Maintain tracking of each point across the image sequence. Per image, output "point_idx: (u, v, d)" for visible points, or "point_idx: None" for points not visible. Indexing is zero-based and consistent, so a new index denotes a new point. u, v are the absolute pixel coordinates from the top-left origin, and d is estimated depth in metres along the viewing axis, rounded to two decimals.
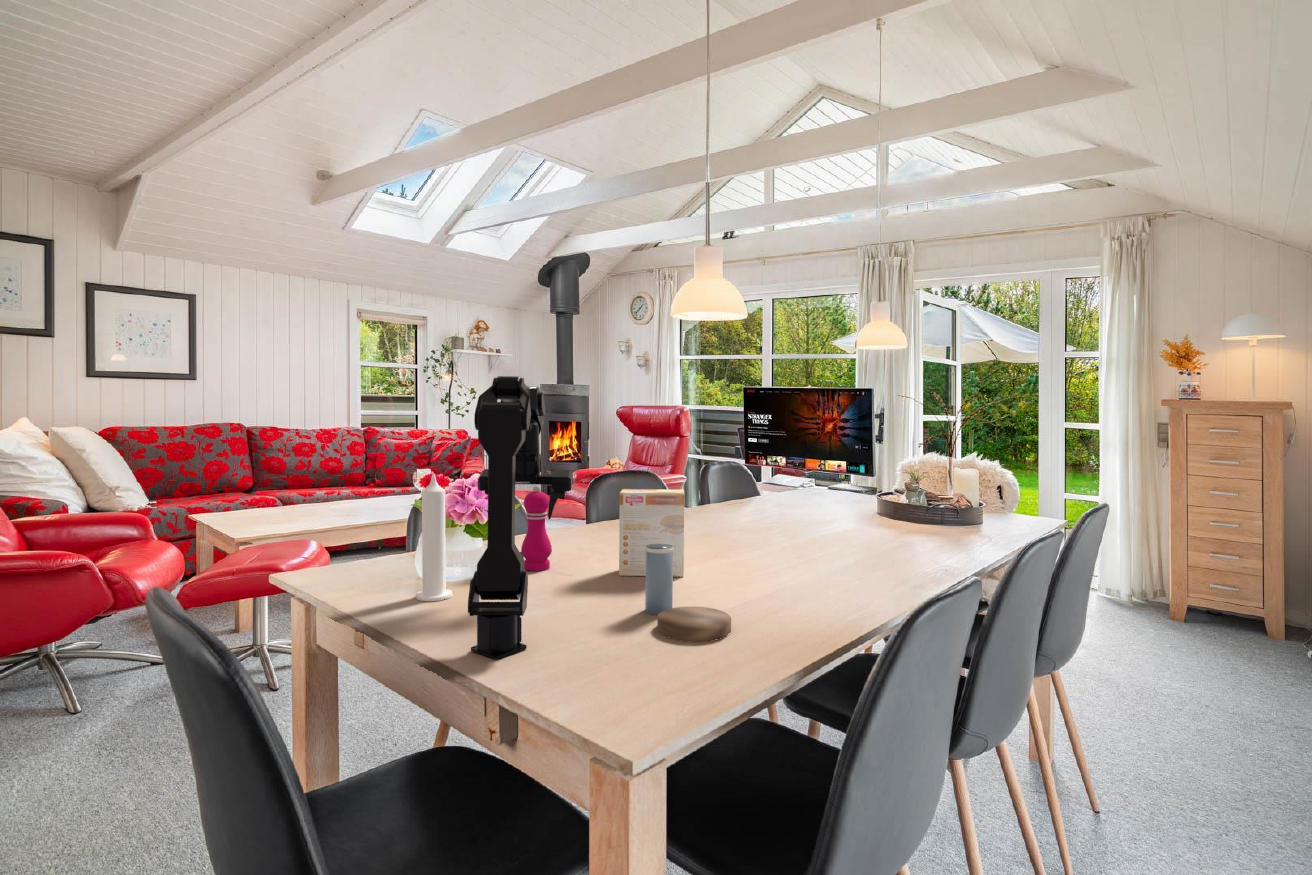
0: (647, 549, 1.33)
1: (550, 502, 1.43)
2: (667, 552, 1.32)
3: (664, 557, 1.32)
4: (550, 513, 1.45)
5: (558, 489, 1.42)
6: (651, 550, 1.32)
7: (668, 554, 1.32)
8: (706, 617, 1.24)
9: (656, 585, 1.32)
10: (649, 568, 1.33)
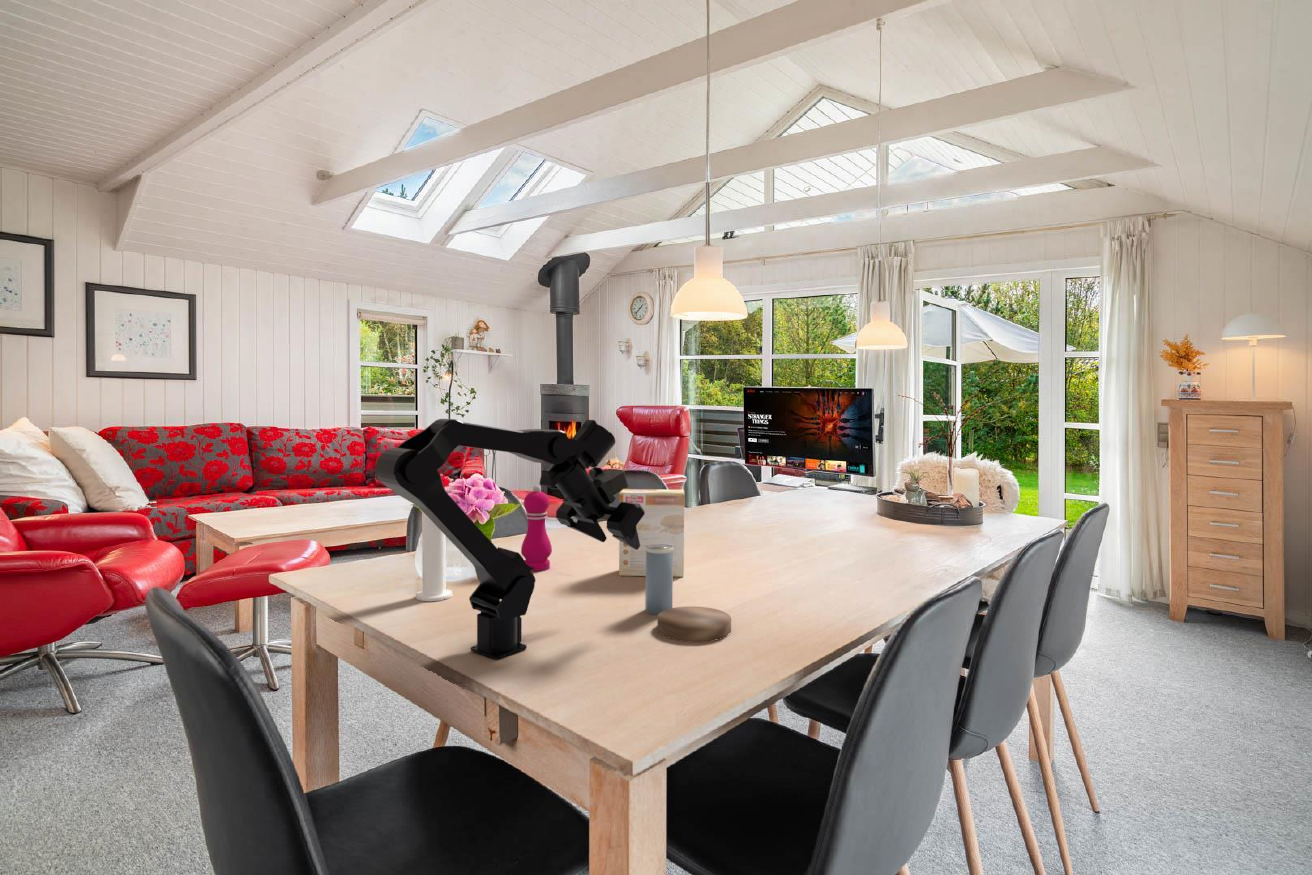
0: (647, 549, 1.33)
1: (621, 541, 1.24)
2: (667, 552, 1.32)
3: (664, 557, 1.32)
4: None
5: (616, 534, 1.20)
6: (651, 550, 1.32)
7: (668, 554, 1.32)
8: (706, 617, 1.24)
9: (656, 585, 1.32)
10: (649, 568, 1.33)
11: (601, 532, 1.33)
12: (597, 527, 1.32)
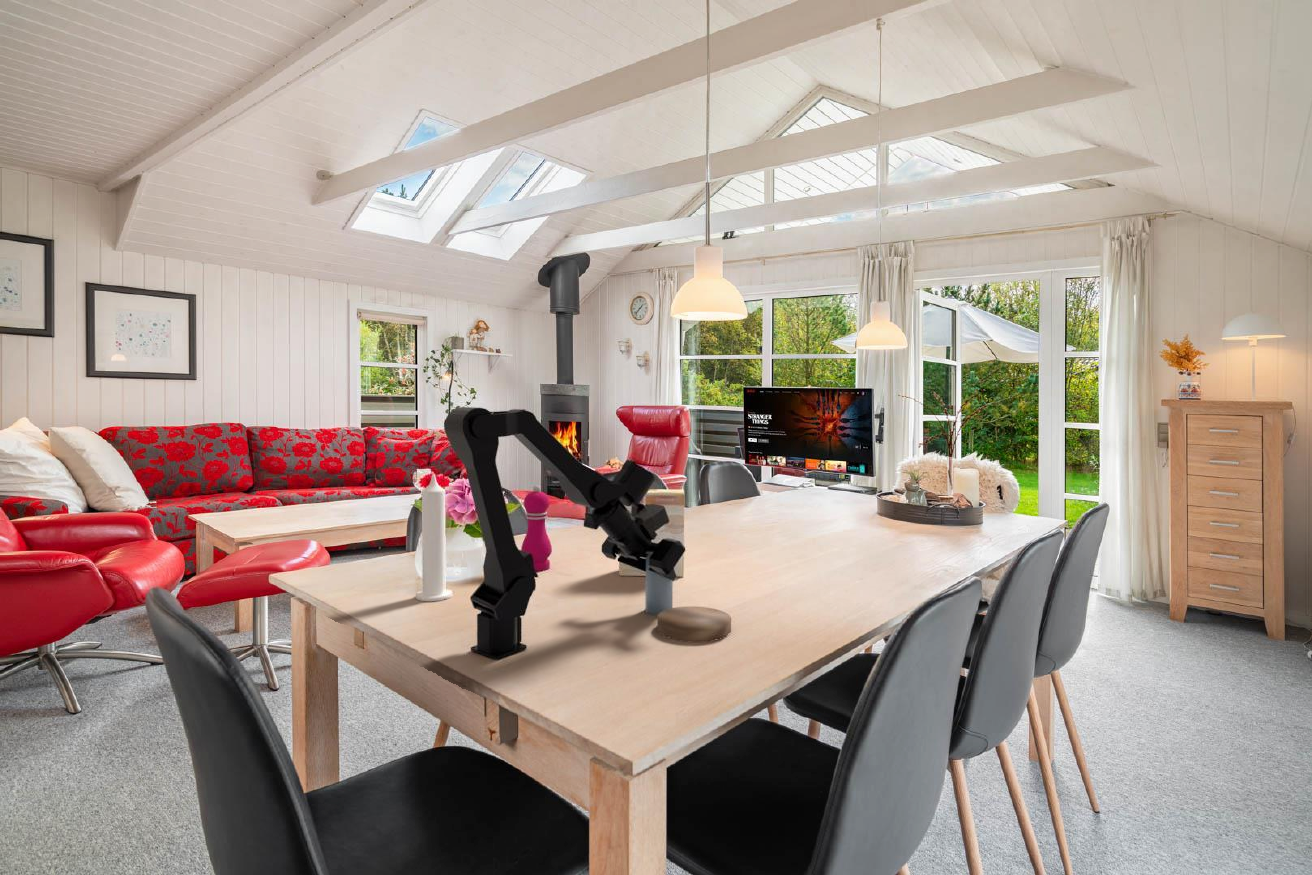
0: None
1: None
2: None
3: None
4: (668, 578, 1.32)
5: (658, 571, 1.25)
6: None
7: None
8: (706, 617, 1.24)
9: (656, 585, 1.32)
10: (649, 567, 1.33)
11: None
12: None
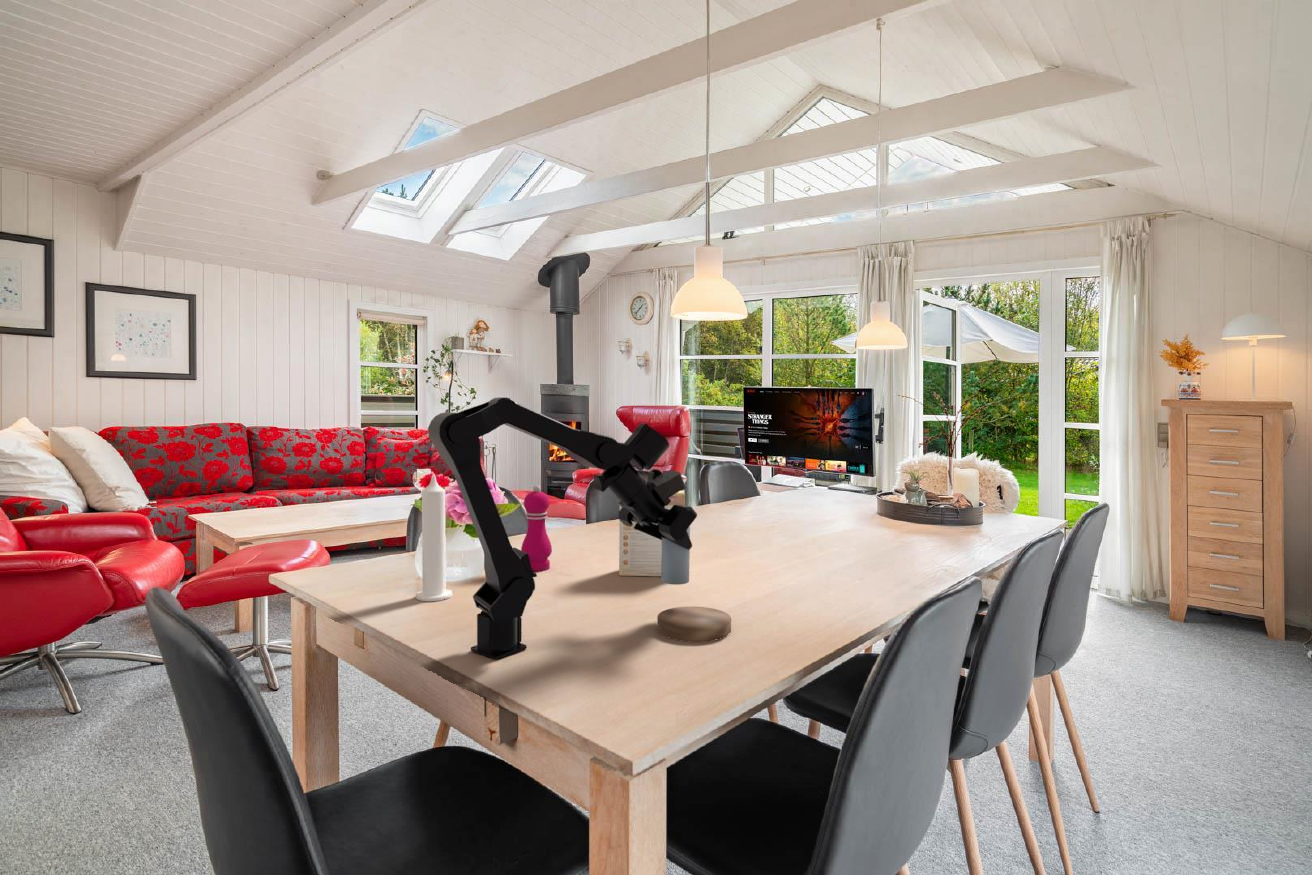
0: None
1: (670, 541, 1.26)
2: None
3: None
4: None
5: (668, 537, 1.21)
6: None
7: None
8: (706, 617, 1.24)
9: (670, 554, 1.28)
10: None
11: None
12: None
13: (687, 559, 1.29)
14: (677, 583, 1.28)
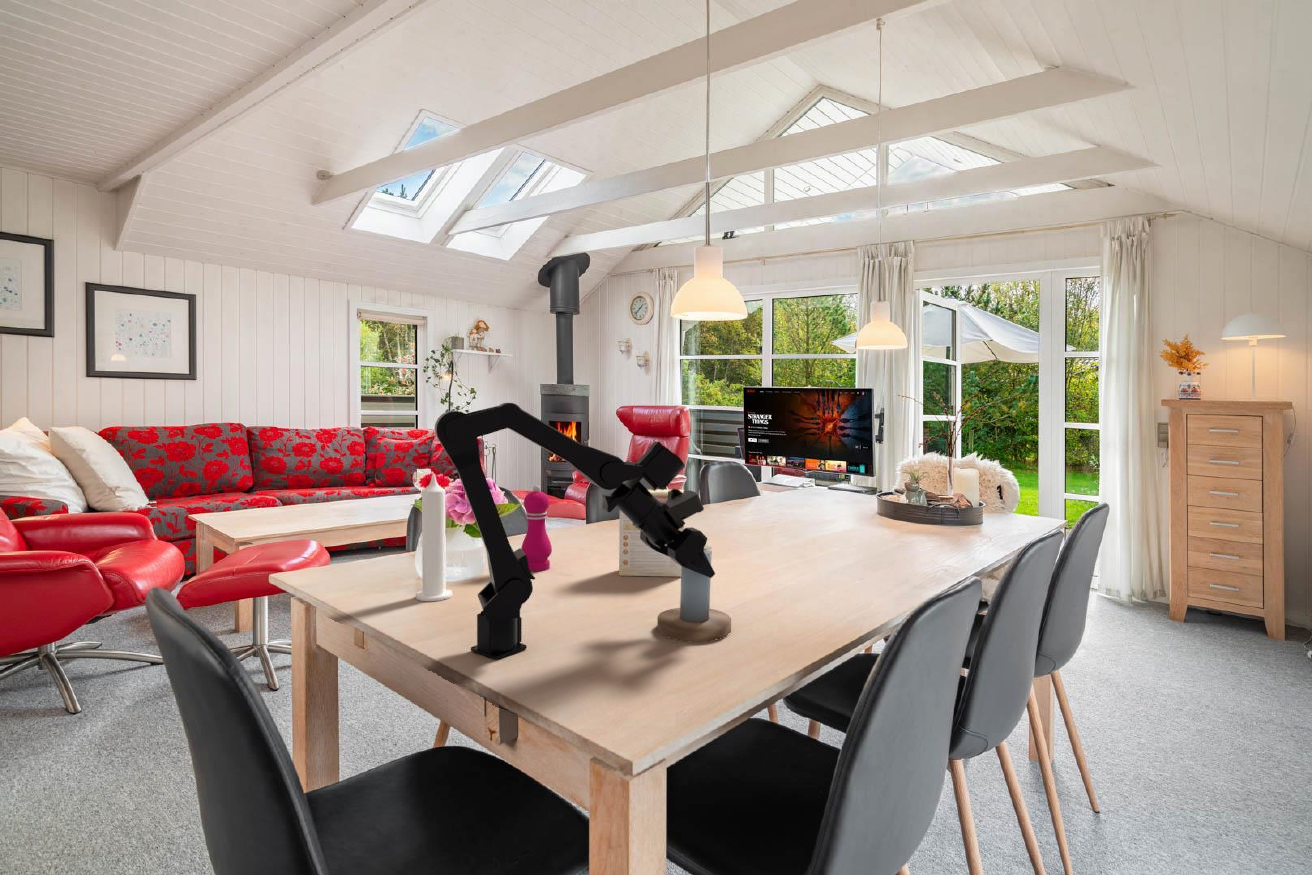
0: None
1: None
2: None
3: None
4: (703, 574, 1.19)
5: (676, 562, 1.15)
6: None
7: None
8: None
9: (687, 589, 1.22)
10: (682, 569, 1.23)
11: None
12: None
13: (706, 596, 1.22)
14: (694, 620, 1.22)
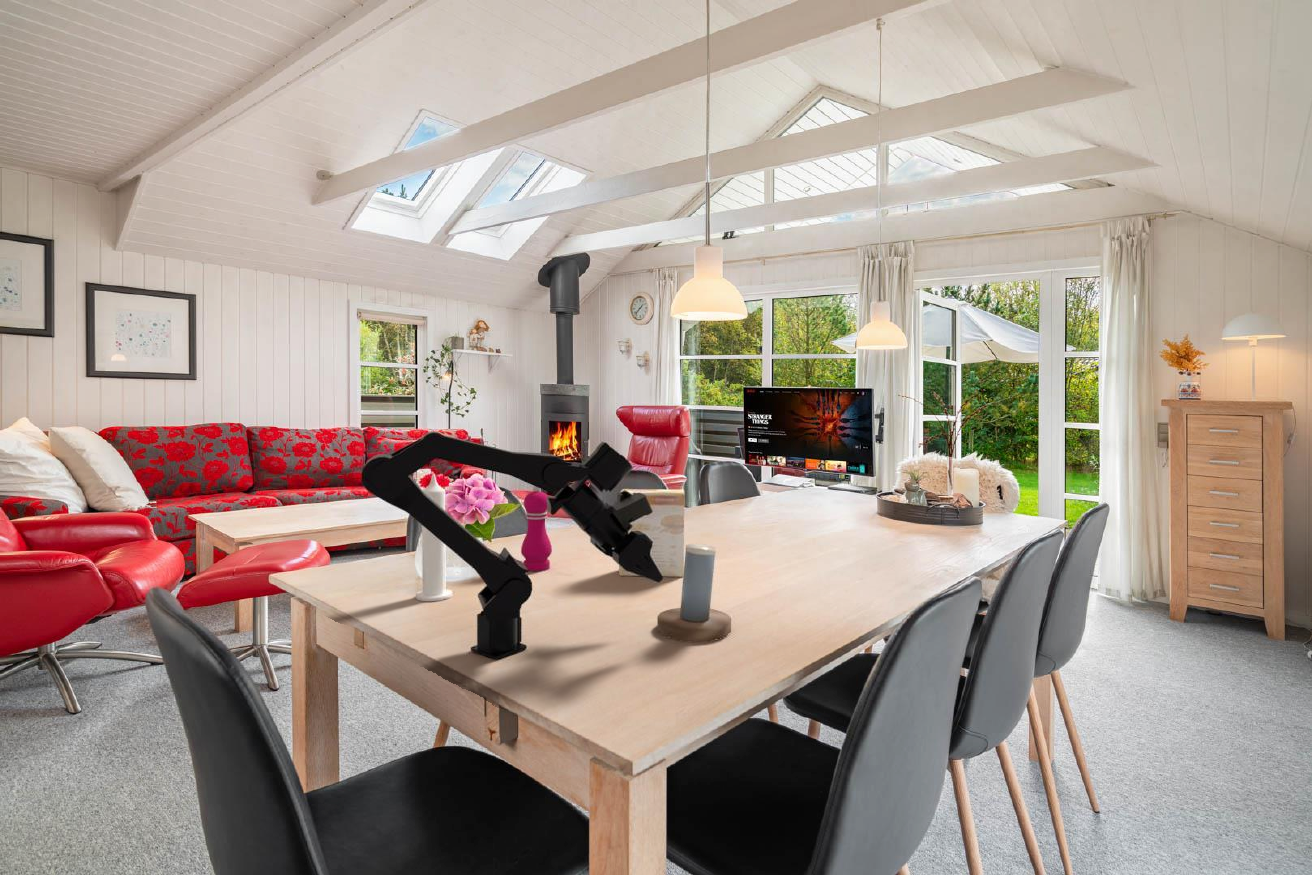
0: (686, 548, 1.23)
1: None
2: (705, 554, 1.21)
3: (702, 559, 1.21)
4: None
5: None
6: (689, 549, 1.22)
7: (707, 556, 1.21)
8: None
9: (690, 588, 1.22)
10: (685, 568, 1.23)
11: None
12: None
13: (708, 596, 1.22)
14: (694, 620, 1.21)
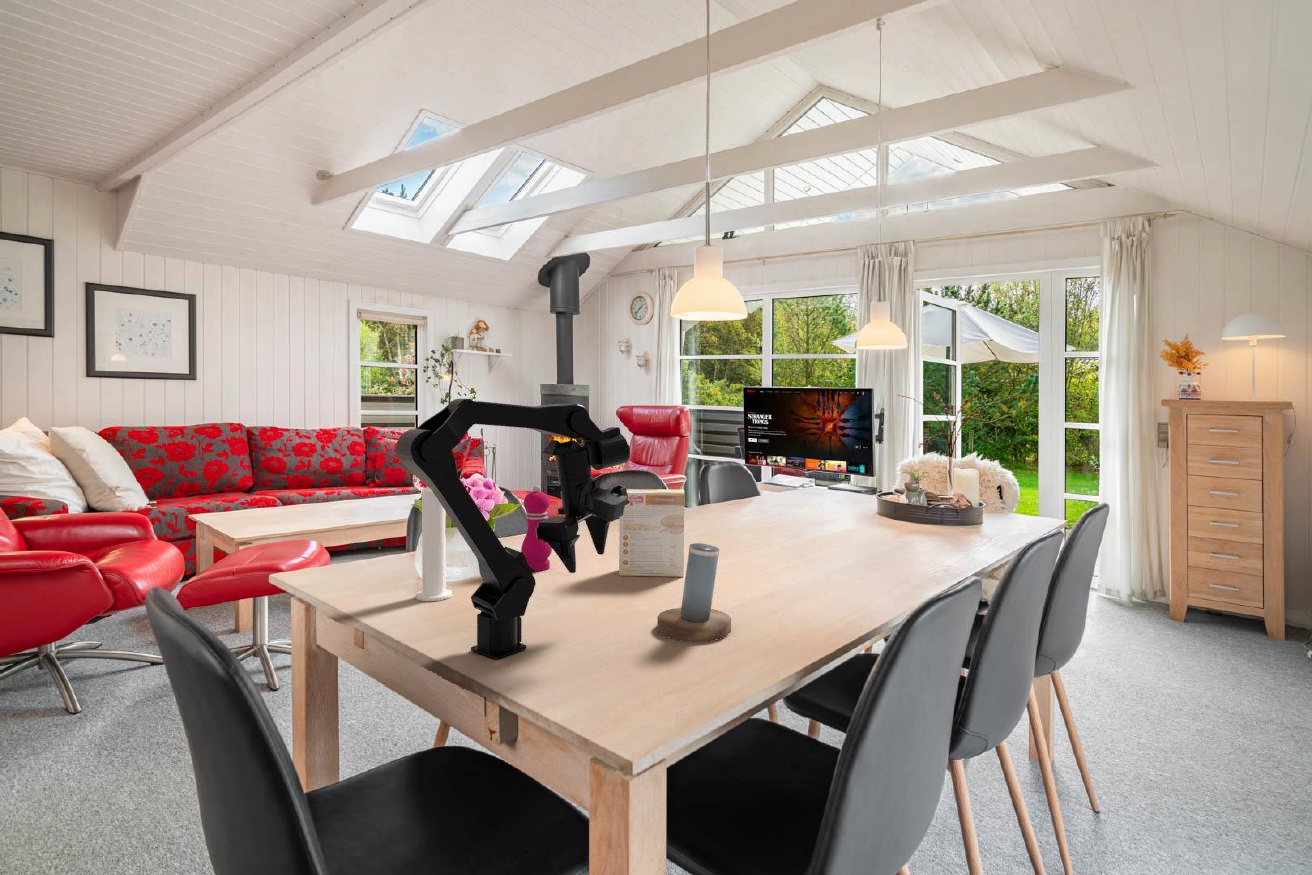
0: (689, 548, 1.22)
1: None
2: (710, 556, 1.20)
3: (706, 560, 1.20)
4: None
5: None
6: (693, 550, 1.21)
7: (711, 558, 1.21)
8: None
9: (692, 589, 1.21)
10: (688, 568, 1.22)
11: (600, 544, 1.26)
12: (600, 537, 1.26)
13: (710, 596, 1.22)
14: (696, 620, 1.21)
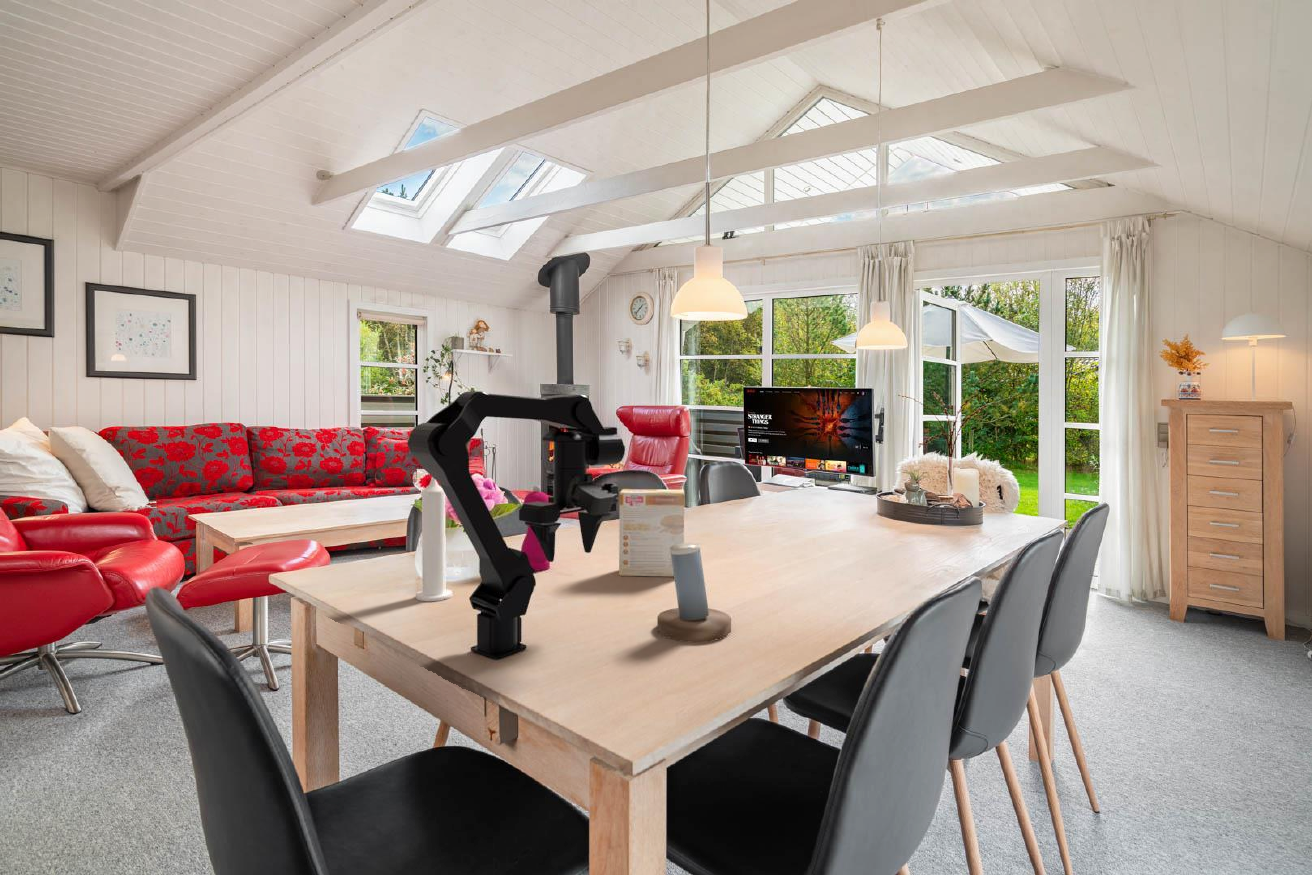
0: (671, 551, 1.22)
1: None
2: (693, 552, 1.21)
3: (691, 557, 1.21)
4: None
5: None
6: (676, 552, 1.21)
7: (695, 553, 1.22)
8: (706, 618, 1.24)
9: (686, 589, 1.21)
10: (676, 571, 1.22)
11: (588, 542, 1.25)
12: (589, 535, 1.25)
13: (704, 591, 1.23)
14: (698, 618, 1.22)
